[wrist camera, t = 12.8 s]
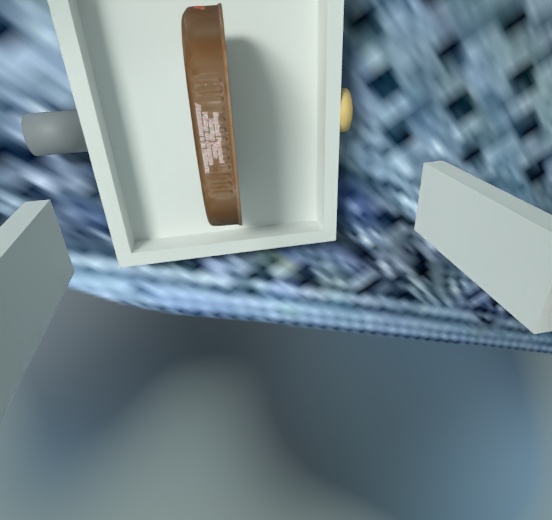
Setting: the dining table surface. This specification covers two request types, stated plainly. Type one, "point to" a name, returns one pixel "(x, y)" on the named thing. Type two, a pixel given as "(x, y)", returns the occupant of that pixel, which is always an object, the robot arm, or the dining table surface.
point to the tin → (211, 112)
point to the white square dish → (178, 125)
